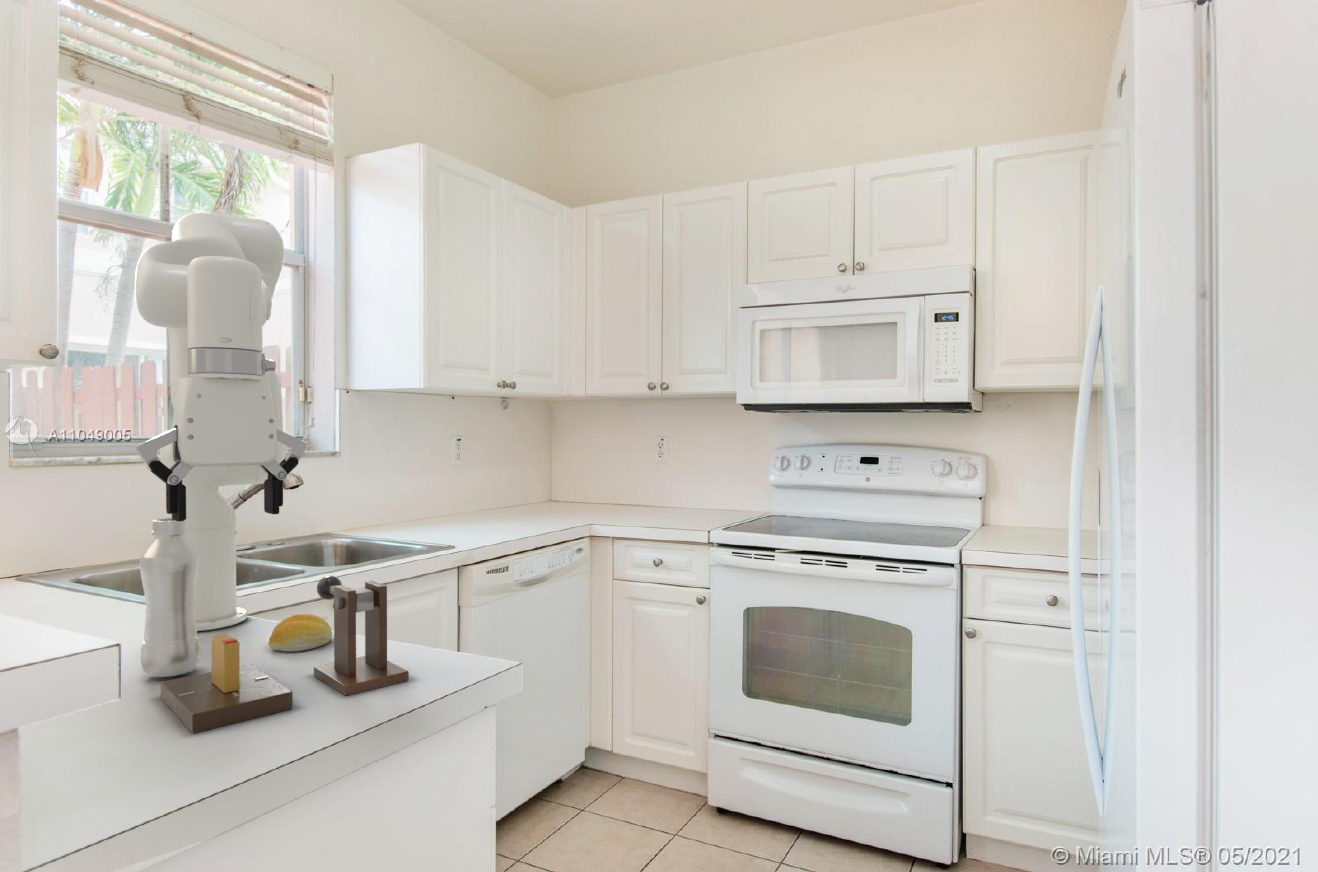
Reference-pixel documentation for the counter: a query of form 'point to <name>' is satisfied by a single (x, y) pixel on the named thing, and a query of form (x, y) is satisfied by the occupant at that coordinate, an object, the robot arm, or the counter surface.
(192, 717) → the plate
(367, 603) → the door lever
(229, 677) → the lock knob
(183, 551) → the plastic bottle
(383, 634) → the handle bracket
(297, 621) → the bread roll
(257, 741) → the counter surface
